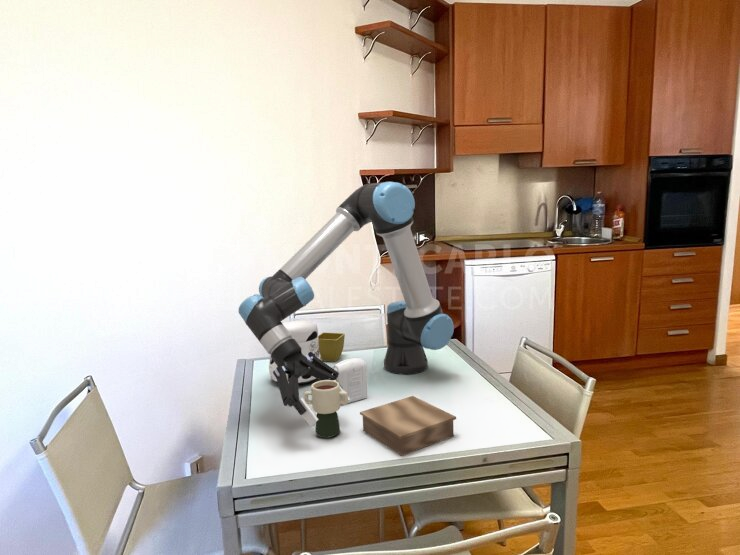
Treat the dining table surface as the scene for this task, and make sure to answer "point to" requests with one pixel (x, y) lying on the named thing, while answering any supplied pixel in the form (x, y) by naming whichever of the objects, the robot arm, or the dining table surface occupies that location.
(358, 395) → the photo printer
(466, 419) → the dining table surface
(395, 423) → the walnut stand
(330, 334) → the flower pot
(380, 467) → the dining table surface
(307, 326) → the milk container
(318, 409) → the character mug
